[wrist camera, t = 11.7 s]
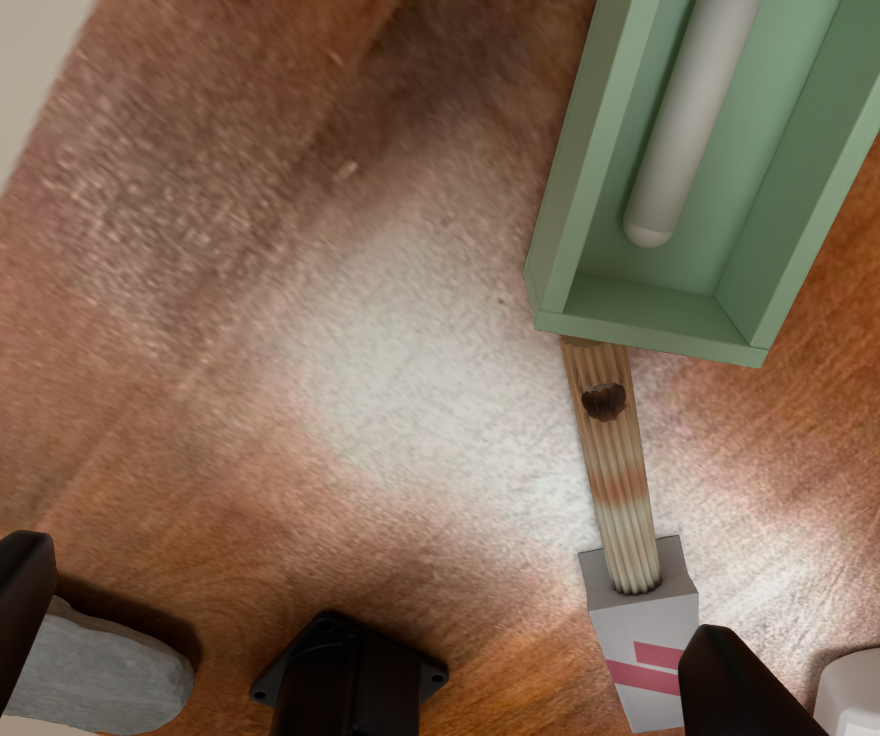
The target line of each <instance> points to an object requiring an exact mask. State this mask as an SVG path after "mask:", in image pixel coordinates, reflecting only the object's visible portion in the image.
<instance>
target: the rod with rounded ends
mask: <svg viewBox="0 0 880 736" xmlns="http://www.w3.org/2000/svg"><path fill="white" fill-rule="evenodd" d="M761 2H762V0H696V2H695V5H694V8H693V11H692V14H691V17H690V20H689V23H688V26H687V29H686V32H685V35H684V38H683V41H682V44H681V47H680V50H679V53H678V56H677V59H676V62H675V65H674V68H673V71H672V74H671V77H670V80H669V83H668V85H667V88H666V91H665V94H664V97H663V100H662V103H661V106H660V109H659V112H658V115H657V118H656V121H655V124H654V127H653V130H652V133H651V136H650V139H649V142H648V145H647V148H646V151H645V154H644V157H643V160H642V163H641V165H640V168H639V171H638V174H637V177H636V180H635V183H634V186H633V189H632V192H631V195H630V198H629V201H628V204H627V207H626V210H625V213H624V216H623V231H624V233H625V236H626V237H627V239H628V240H629V241H630V242H631V243H632V244H634V245H635V246H638V247H640V248H645V249H649V248H655V247H659V246H661V245H662V244H664V243H665V242H667V241H668V240H669V239H670V237H671V236H672V234H673V232H674V231H675V228H676V226H677V223H678V220H679V218H680V215H681V213H682V210H683V207H684V205H685V202H686V199H687V197H688V194H689V191H690V189H691V186H692V184H693V181H694V178H695V176H696V173H697V170H698V168H699V165H700V163H701V160H702V157H703V155H704V152H705V149H706V147H707V144H708V142H709V139H710V136H711V134H712V131H713V128H714V126H715V123H716V120H717V118H718V115H719V113H720V110H721V107H722V105H723V102H724V99H725V97H726V94H727V92H728V89H729V86H730V84H731V81H732V78H733V76H734V73H735V71H736V68H737V65H738V63H739V60H740V57H741V55H742V52H743V49H744V47H745V44H746V42H747V39H748V36H749V34H750V31H751V28H752V26H753V23H754V21H755V18H756V15H757V13H758V10H759V7H760V5H761Z"/></svg>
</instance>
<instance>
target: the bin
mask: <svg viewBox="0 0 880 736" xmlns="http://www.w3.org/2000/svg"><path fill="white" fill-rule="evenodd" d="M695 2H696V0H597V2H596V6H595V9H594V13H593V17H592V20H591V24H590V28H589V31H588V35H587V39H586V42H585V46H584V50H583V53H582V57H581V61H580V64H579V68H578V72H577V75H576V79H575V83H574V86H573V90H572V94H571V97H570V101H569V105H568V108H567V112H566V116H565V119H564V123H563V127H562V130H561V134H560V138H559V141H558V145H557V149H556V152H555V156H554V160H553V163H552V167H551V171H550V174H549V178H548V182H547V185H546V189H545V193H544V196H543V200H542V203H541V207H540V211H539V214H538V218H537V222H536V225H535V229H534V233H533V236H532V240H531V244H530V247H529V251H528V255H527V258H526V262H525V266H524V269H523V273H522V274H523V279H524V283H525V287H526V292H527V296H528V301H529V305H530V310H531V315H532V319H533V324H534V328H535V329H536V330H539V331H545V332H551V333H556V334H562V335H568V336H574V337H579V338H585V339H591V340H597V341H602V342H608V343H614V344H620V345H625V346H631V347H637V348H643V349H648V350H654V351H660V352H666V353H671V354H677V355H683V356H689V357H694V358H700V359H706V360H712V361H717V362H723V363H729V364H735V365H740V366H746V367H752V368H758V369H759V368H761V366H762V364H763V362H764V360H765V358H766V356H767V354H768V349H770V348H771V346H772V344H773V342H774V340H775V338H776V336H777V334H778V332H779V330H780V328H781V326H782V324H783V322H784V320H785V318H786V316H787V314H788V312H789V310H790V308H791V306H792V304H793V302H794V300H795V298H796V296H797V294H798V292H799V290H800V288H801V286H802V284H803V282H804V280H805V278H806V276H807V274H808V272H809V270H810V268H811V266H812V264H813V262H814V260H815V258H816V256H817V254H818V252H819V250H820V248H821V246H822V244H823V242H824V240H825V238H826V236H827V234H828V232H829V230H830V228H831V226H832V224H833V222H834V220H835V218H836V216H837V214H838V212H839V210H840V208H841V206H842V204H843V202H844V200H845V198H846V196H847V194H848V192H849V190H850V188H851V186H852V184H853V182H854V180H855V178H856V176H857V174H858V172H859V170H860V168H861V166H862V164H863V162H864V160H865V158H866V156H867V153H868V151H869V149H870V147H871V145H872V143H873V141H874V139H875V137H876V135H877V133H878V131H879V129H880V0H762V2H761V5H760V7H759V10H758V13H757V15H756V18H755V21H754V23H753V26H752V28H751V31H750V34H749V36H748V39H747V42H746V44H745V47H744V49H743V52H742V55H741V57H740V60H739V63H738V65H737V68H736V71H735V73H734V76H733V78H732V81H731V84H730V86H729V89H728V92H727V94H726V97H725V99H724V102H723V105H722V107H721V110H720V113H719V115H718V118H717V120H716V123H715V126H714V128H713V131H712V134H711V136H710V139H709V142H708V144H707V147H706V149H705V152H704V155H703V157H702V160H701V163H700V165H699V168H698V170H697V173H696V176H695V178H694V181H693V184H692V186H691V189H690V191H689V194H688V197H687V199H686V202H685V205H684V207H683V210H682V213H681V215H680V218H679V220H678V223H677V226H676V228H675V231H674V232H673V234H672V236H671V237H670V239H669V240H668V241H667V242H665V243H664V244H662V245H661V246H659V247H655V248H649V249H645V248H640V247H638V246H635V245H634V244H632V243H631V242H630V241H629V240H628V239H627V237H626V236H625V233H624V231H623V216H624V213H625V210H626V207H627V204H628V201H629V198H630V195H631V192H632V189H633V186H634V183H635V180H636V177H637V174H638V171H639V168H640V165H641V163H642V160H643V157H644V154H645V151H646V148H647V145H648V142H649V139H650V136H651V133H652V130H653V127H654V124H655V121H656V118H657V115H658V112H659V109H660V106H661V103H662V100H663V97H664V94H665V91H666V88H667V85H668V83H669V80H670V77H671V74H672V71H673V68H674V65H675V62H676V59H677V56H678V53H679V50H680V47H681V44H682V41H683V38H684V35H685V32H686V29H687V26H688V23H689V20H690V17H691V14H692V11H693V8H694V5H695Z"/></svg>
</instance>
